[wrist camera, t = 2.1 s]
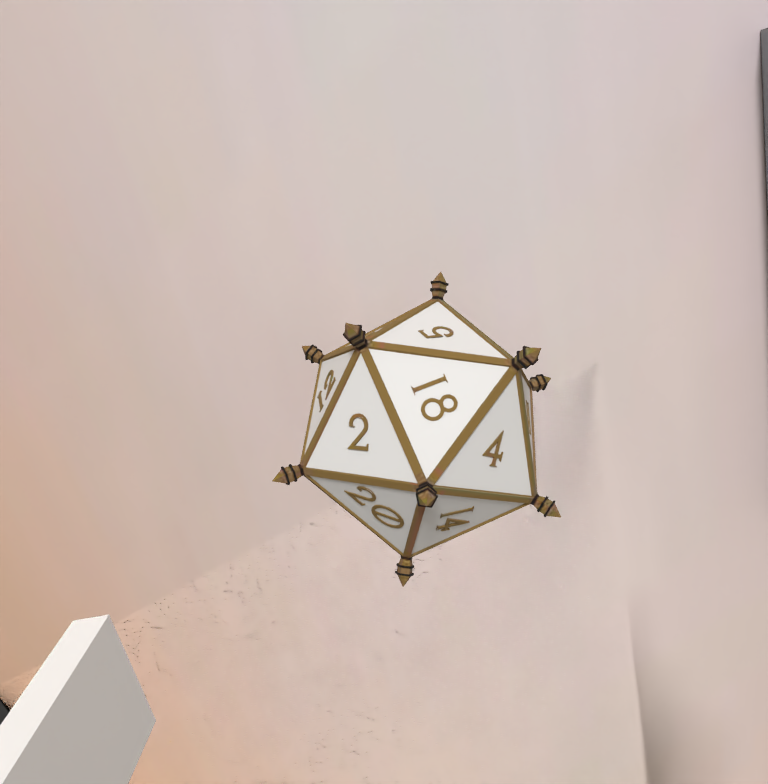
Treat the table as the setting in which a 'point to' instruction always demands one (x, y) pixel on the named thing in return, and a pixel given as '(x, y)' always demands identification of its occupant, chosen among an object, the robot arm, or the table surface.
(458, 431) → the game die
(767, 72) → the board
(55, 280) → the table surface
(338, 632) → the table surface
